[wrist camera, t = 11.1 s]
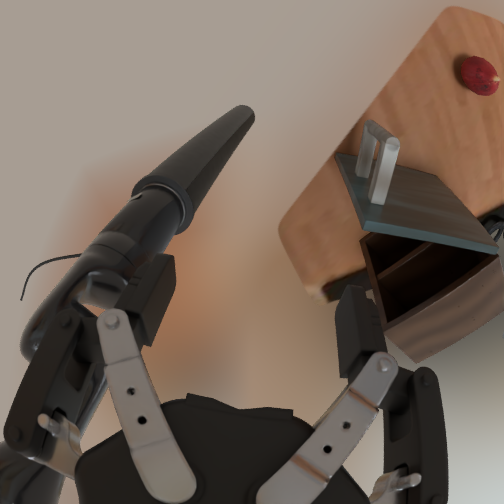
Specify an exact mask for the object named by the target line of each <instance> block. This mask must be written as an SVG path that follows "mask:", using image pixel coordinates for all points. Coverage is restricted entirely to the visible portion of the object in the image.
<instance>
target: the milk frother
mask: <svg viewBox="0 0 504 504" xmlns="http://www.w3.org/2000/svg"><path fill="white" fill-rule="evenodd" d="M496 229H499V231H498V233H497V235H496V236H495V238H494V239H493V240H494V241H495V242H497V241H498V239H499V238H500V236H501V234H502V232H503V229H504V222H502V221H500V222H497V223H496V224H494V225H493V226H491V227H490V228H489V229H488V230H487V232H488V233H489V235H491V234H492V233H493V232H494V231H495V230H496ZM503 238H504V233H503Z"/></svg>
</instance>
